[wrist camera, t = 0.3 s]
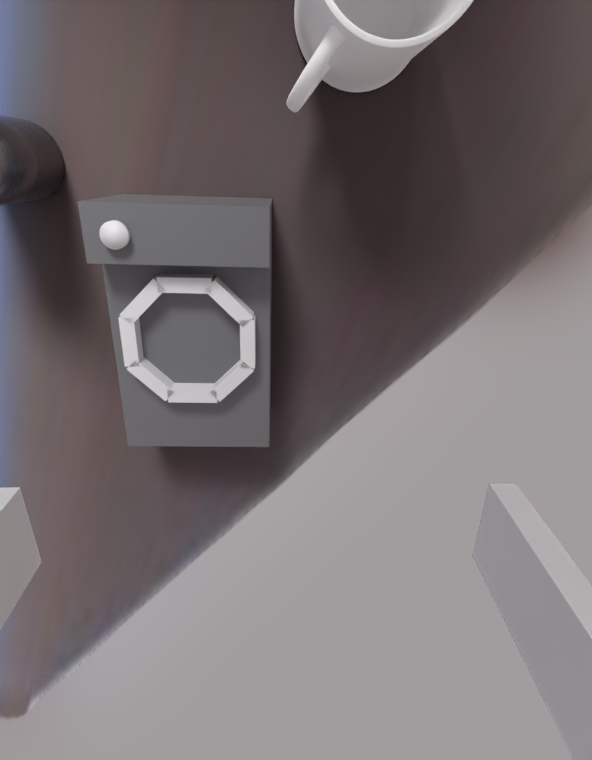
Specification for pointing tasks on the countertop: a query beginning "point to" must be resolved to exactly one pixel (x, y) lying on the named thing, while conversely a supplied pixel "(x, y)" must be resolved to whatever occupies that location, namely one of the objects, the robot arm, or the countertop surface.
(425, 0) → the mug
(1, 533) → the robot arm
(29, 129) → the lens
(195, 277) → the camera body
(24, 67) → the countertop surface
